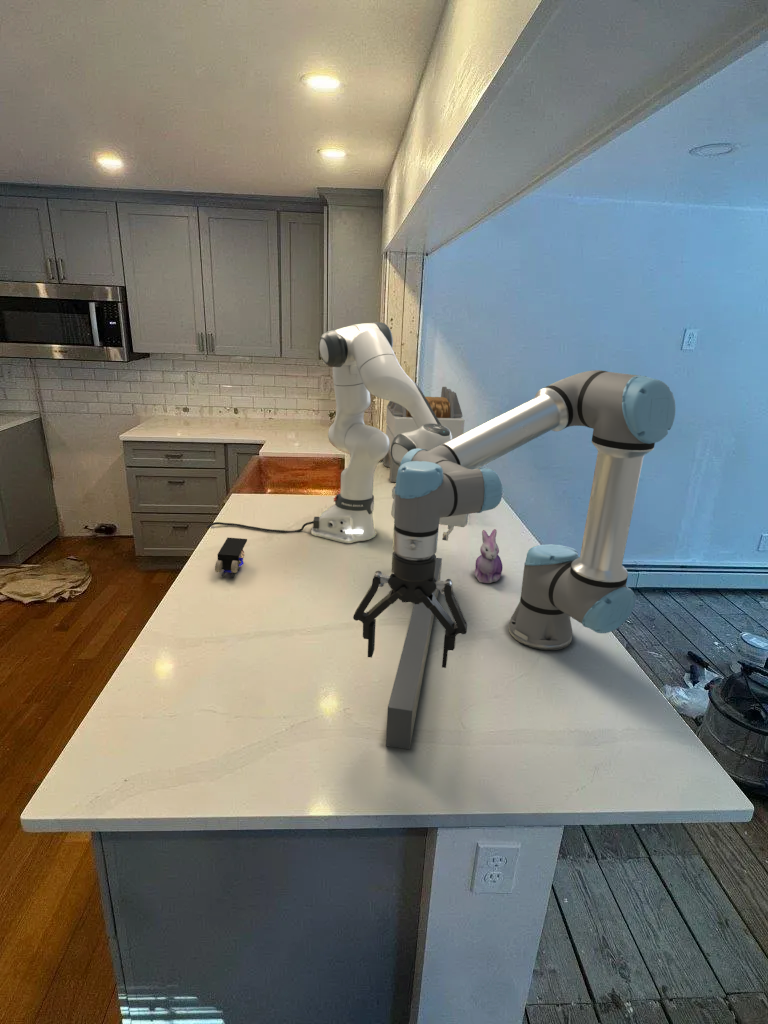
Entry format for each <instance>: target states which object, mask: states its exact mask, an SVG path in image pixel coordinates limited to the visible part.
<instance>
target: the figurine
mask: <svg viewBox="0 0 768 1024" xmlns="http://www.w3.org/2000/svg"><path fill="white" fill-rule="evenodd" d="M497 531H498V530H497V528H494V529H493V530H492V531H491V532H490V535H489V534H488V532H487V531H486V530H485V529H482V531H481V536H482V537H481V538H482V539H481V540H482V543H481V545H480V548H479V549H480V550H479V551H480V555H479V556H478V557H477V558H476V559H475V567H474V578H476V579H477V581H478V582H480V583H484V584H492V583H495V582H496V583H497V581H499V580H500V578H501V576H502V572H503V562H502V559H501V556H499V553H500V547H499V545H498V543H497V541H496V540H497V534H498V533H497Z"/></svg>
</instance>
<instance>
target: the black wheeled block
mask: <svg viewBox="0 0 768 1024" xmlns="http://www.w3.org/2000/svg"><path fill="white" fill-rule="evenodd" d="M247 542H248V538H240V537H226V539H225V541H224V543H223V544H222V546H221V547H220V549H219V551H218V552H217V560H216V562H215V564H214V572H215V573H221V577H222V578H224V577H225V576H226V574H227V573H230V574H231V573H232V574H231V578H234V577H235V575H236V573H237V572H239V571H240V567H242V566H243V565H244V564H245V562H244V558H245V551H244V547H245V546H246V544H247Z"/></svg>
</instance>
